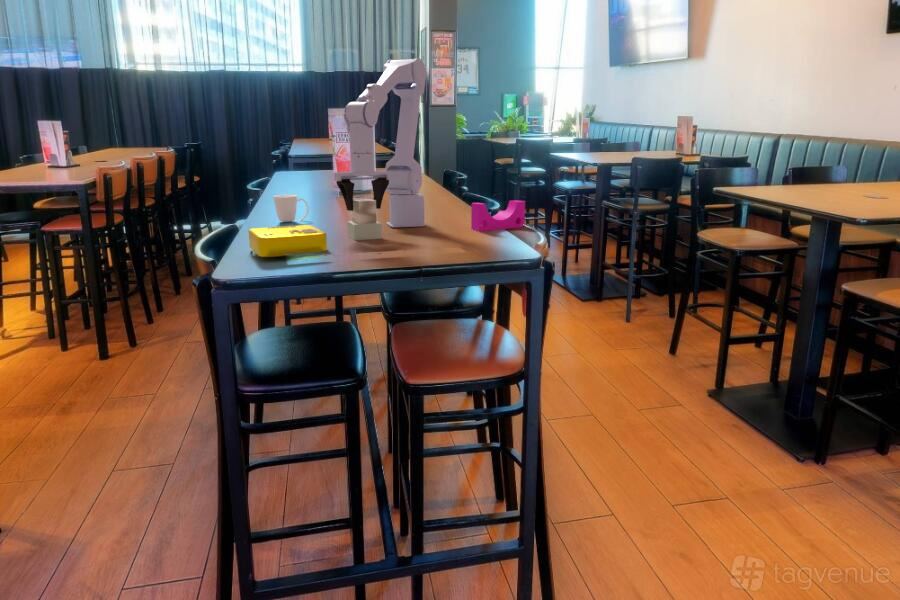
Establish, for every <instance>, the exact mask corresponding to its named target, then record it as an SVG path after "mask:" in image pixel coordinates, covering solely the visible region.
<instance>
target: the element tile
mask: <svg viewBox="0 0 900 600" xmlns="http://www.w3.org/2000/svg"><path fill="white" fill-rule="evenodd" d="M248 241H249V248H250V249H251V250H252V252H254V253H255V254H256V255H257V256H258V257H261V258H275V257H276V258H277V257H286V256H287V255H294V254H308V253H320V252H326V251H328V243H327V242H328V240H327V232H325V231H324V230H321V229H319V228H317V227H315V226H313V225H310V224H304V225H285V226H284V225H282V226H280V225H278V226H270V227H269V226H268V227H258V228H257V227H255V228H254V227H253V228H250V229H249V230H248Z"/></svg>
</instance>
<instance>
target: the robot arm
mask: <svg viewBox="0 0 900 600" xmlns="http://www.w3.org/2000/svg"><path fill="white" fill-rule="evenodd" d="M426 80H427V70H426V66H425V63H424V62H423V59H421V57H420V58H419V57H417V58H416V57H415V58H408V59H407V58H406V59H388V60H387V61H386V62H385V63H384V64H383V73H382V74H381V76H380V77H379V79H378V80H377V82H376V83H368V84H367V85H366V88H365V90H364V91H363V92H362V93H361V94H360V95H359V96H358V98H357V99H356V100H355V101H350V102H348V104H346V106H345V107H344V113H343V120H344V122H345V125H346V132H347V134H349V157H350V161H349V162H350V171H339V172H338V171H337V172H333V181H336V186H337V187H338V189H339V191H340V193H341V195H342V198H343V200H344V204H345V206H346V207H345V208H346V211H349V212H352V211H353V200H354V189H355V182H352V181H363V180H365V181H366V180H370V181H371V186H372V193H373V200H376V210H377V209H378V210H380V209H381V208H382V202H383V198H384V195H385V193H386V194H389V198H388V199H389V221H387V222H386V224H387V225H388V226H389V227H391V228H409V227H410V228H412V227H413V228H415V227H416V228H417V227H425V226H426V224H425V198H424V195H423V193H418V192H419V191H420V190H421V188H422V184H423V177H422V165H421V164H419V162H418V161H417V160H416V159H415V158H414V154H415V146H416V138H417V131H418V130H417V128H418V122H419V121H418V120H419V113H420V103H421V96H423V95H424V94H425V88H426V87H425V86H426ZM390 91H392V92H393V93H394V95H395V96H399V97H400V106H399V107H400V108H399V117H398V123H397V126H398V127H397V134H396V140H395V152H394V156H393V157H392V158H391V159H389V160H388V161H387V162H386V163H385V169H384V170H375V148H374V145H375V144H374V126H375V125H377V123H378V119H379V114H380V111H381V110H382V108H383V107H384V106H385V104H386V103H387V101H388V94H389V93H390Z"/></svg>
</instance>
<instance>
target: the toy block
mask: <svg viewBox="0 0 900 600" xmlns="http://www.w3.org/2000/svg"><path fill="white" fill-rule="evenodd" d="M470 211H471V216H470V217H471V218H470V219H471V220H470V221H471V224H470V226H471V227H470V229H473V230H472V231H475V230H476V231H475V232H478V231H481V232H486V231H485V230H490V231H497V229H499V230H506V229H514V228H523V226H524V227H525V214H526V200H525V201H524V200H517V199H516V200H515V199H514V200H509V201H508V205H507V207H506V210H505V209H504V210H499V211H498V212H497V213H496V214H494V215H492V216H491V215H490V213H489V212H488V209H487V205H486V203H483V202H471V210H470ZM523 224H524V225H523ZM521 225H522V226H521Z"/></svg>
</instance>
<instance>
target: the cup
mask: <svg viewBox="0 0 900 600" xmlns="http://www.w3.org/2000/svg"><path fill="white" fill-rule="evenodd" d="M299 201H302V202H304V205H305V206H306V212H305V214H304V215H303V216H302V217H301V218H300V219H299V220H298V221H299V222H302V221H303V220H304V219H305V218H306V217H307V216H308V214H309V210H310V209H309V205H308V202H307V201H306V200H305V199H304V198H298V194H278V195H277V194H276V195H273V202H274V207H275V210H276V214H277V218H278V221H279V222H284V223H285V222H295V221H296V215H297V206H298V205H297V204H298V202H299Z"/></svg>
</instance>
